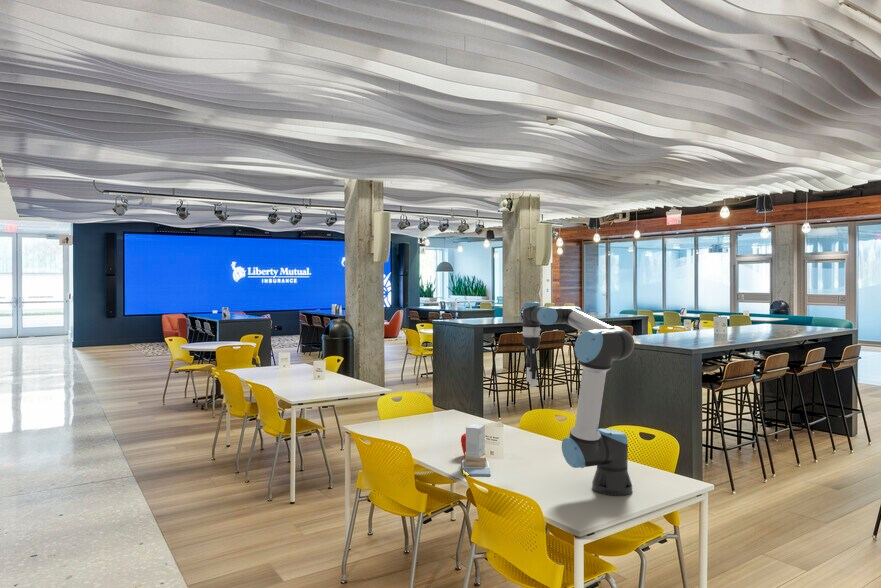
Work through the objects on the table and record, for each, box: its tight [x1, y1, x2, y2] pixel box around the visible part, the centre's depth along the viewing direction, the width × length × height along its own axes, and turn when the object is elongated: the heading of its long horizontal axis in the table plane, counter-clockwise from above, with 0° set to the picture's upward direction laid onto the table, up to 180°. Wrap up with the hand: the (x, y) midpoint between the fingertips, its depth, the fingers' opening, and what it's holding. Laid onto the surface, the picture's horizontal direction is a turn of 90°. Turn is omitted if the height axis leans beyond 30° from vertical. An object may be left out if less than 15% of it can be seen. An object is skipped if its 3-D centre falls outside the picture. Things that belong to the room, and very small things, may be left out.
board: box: [461, 459, 491, 477], centre depth 257 cm, size 20×12×1 cm, turn 178°
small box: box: [465, 423, 486, 458], centre depth 260 cm, size 8×6×13 cm
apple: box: [460, 432, 466, 456], centre depth 277 cm, size 9×9×11 cm
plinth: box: [464, 452, 487, 467], centre depth 261 cm, size 9×9×4 cm
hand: (531, 384), depth 261 cm, fingers open, 13 cm apart
